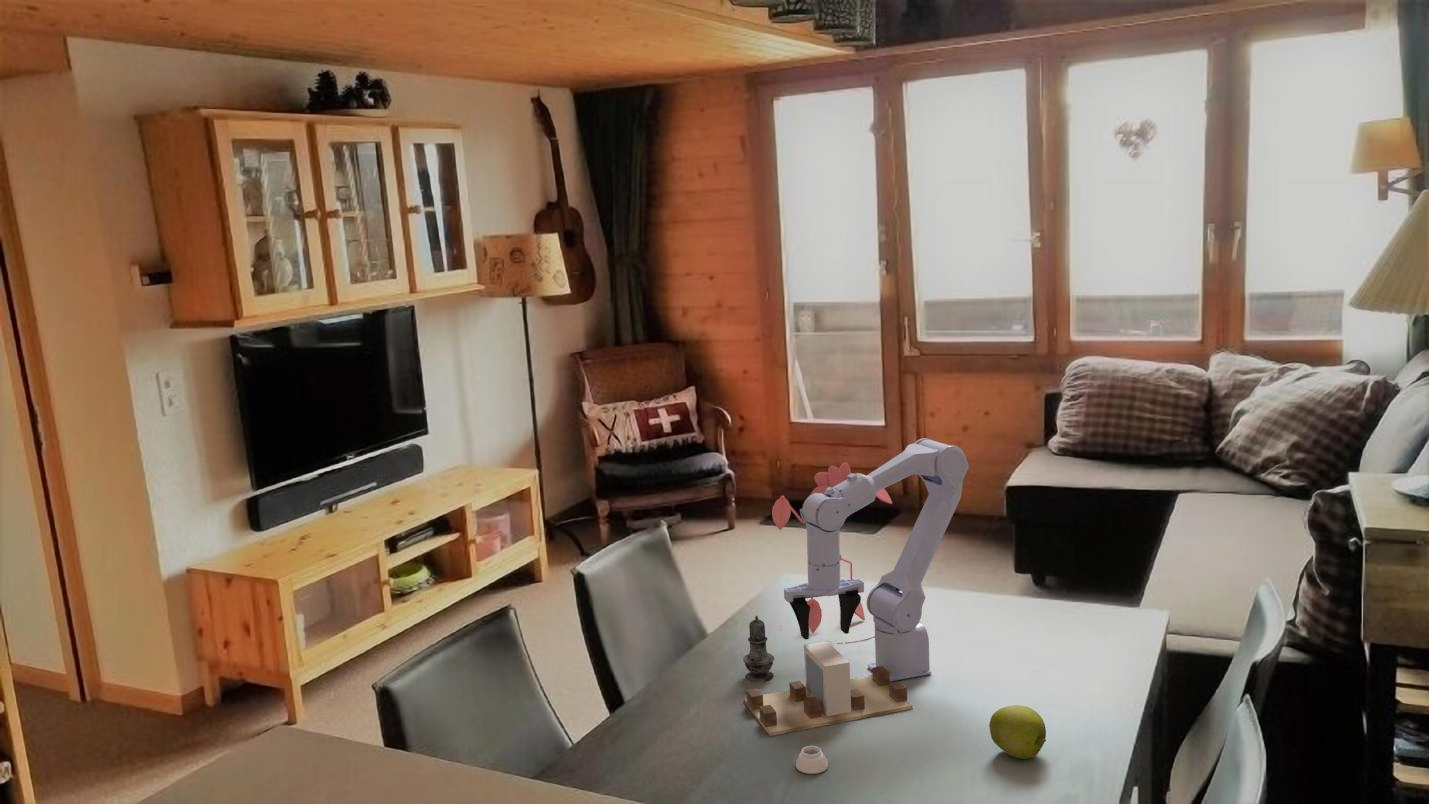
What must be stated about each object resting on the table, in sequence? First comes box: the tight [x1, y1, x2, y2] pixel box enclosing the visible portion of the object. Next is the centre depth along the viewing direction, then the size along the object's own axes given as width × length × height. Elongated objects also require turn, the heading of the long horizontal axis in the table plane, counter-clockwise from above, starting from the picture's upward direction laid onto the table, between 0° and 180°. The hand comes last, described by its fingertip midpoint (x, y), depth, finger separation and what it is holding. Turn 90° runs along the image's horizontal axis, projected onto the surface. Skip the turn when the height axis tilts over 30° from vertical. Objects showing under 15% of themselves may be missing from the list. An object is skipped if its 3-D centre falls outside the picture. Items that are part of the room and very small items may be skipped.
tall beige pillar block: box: [803, 641, 851, 717], centre depth 191 cm, size 4×10×9 cm, turn 16°
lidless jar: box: [795, 745, 829, 775], centre depth 171 cm, size 5×3×5 cm
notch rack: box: [743, 666, 913, 737], centre depth 192 cm, size 26×14×3 cm, turn 106°
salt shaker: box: [742, 615, 775, 683], centre depth 204 cm, size 6×6×12 cm
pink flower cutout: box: [771, 461, 893, 645], centre depth 222 cm, size 15×26×35 cm, turn 113°
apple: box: [988, 704, 1047, 760], centre depth 170 cm, size 8×9×8 cm
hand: (824, 634), depth 197 cm, fingers open, 7 cm apart
